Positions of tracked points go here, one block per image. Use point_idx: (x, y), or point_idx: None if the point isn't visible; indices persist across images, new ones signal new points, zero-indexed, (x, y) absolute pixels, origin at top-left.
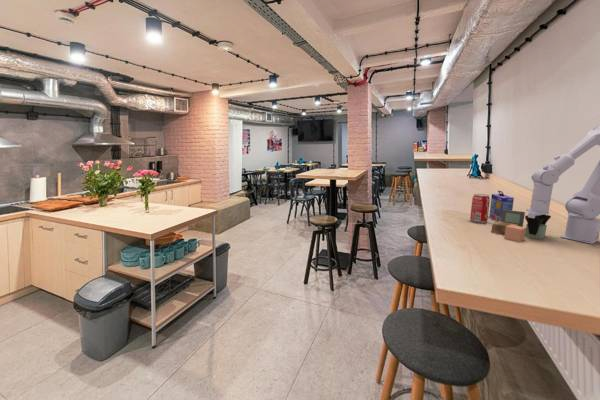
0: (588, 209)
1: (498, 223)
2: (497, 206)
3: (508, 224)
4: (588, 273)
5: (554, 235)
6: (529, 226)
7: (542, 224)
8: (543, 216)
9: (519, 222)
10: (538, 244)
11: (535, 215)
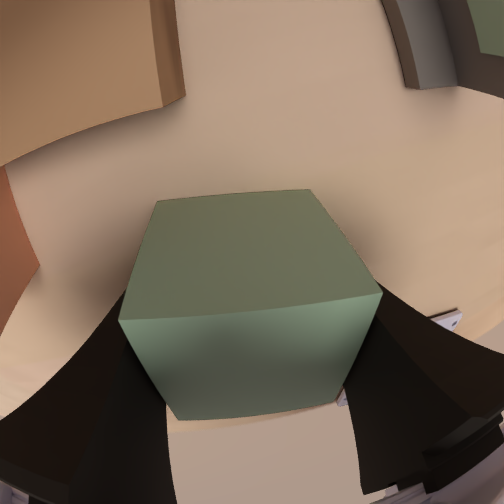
0: None
1: None
2: None
3: (5, 42)
4: None
5: (407, 297)
6: (105, 341)
7: (331, 386)
8: (383, 476)
9: (494, 56)
10: (56, 340)
11: None
